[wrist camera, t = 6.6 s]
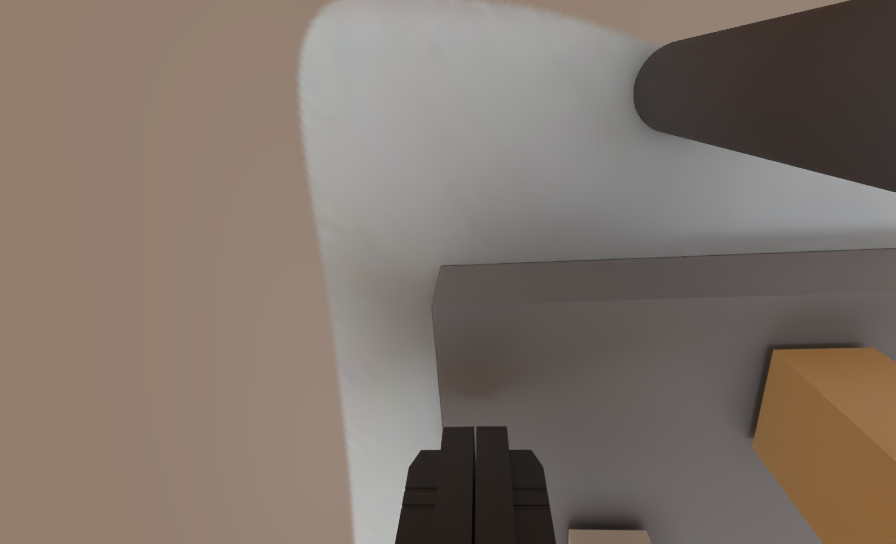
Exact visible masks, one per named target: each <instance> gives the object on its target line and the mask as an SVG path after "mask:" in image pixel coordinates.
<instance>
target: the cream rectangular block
mask: <svg viewBox="0 0 896 544" xmlns="http://www.w3.org/2000/svg"><path fill="white" fill-rule="evenodd" d="M568 544H651V541H650V539H649V536H648V533H647V530H576V529H569V538H568Z"/></svg>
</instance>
